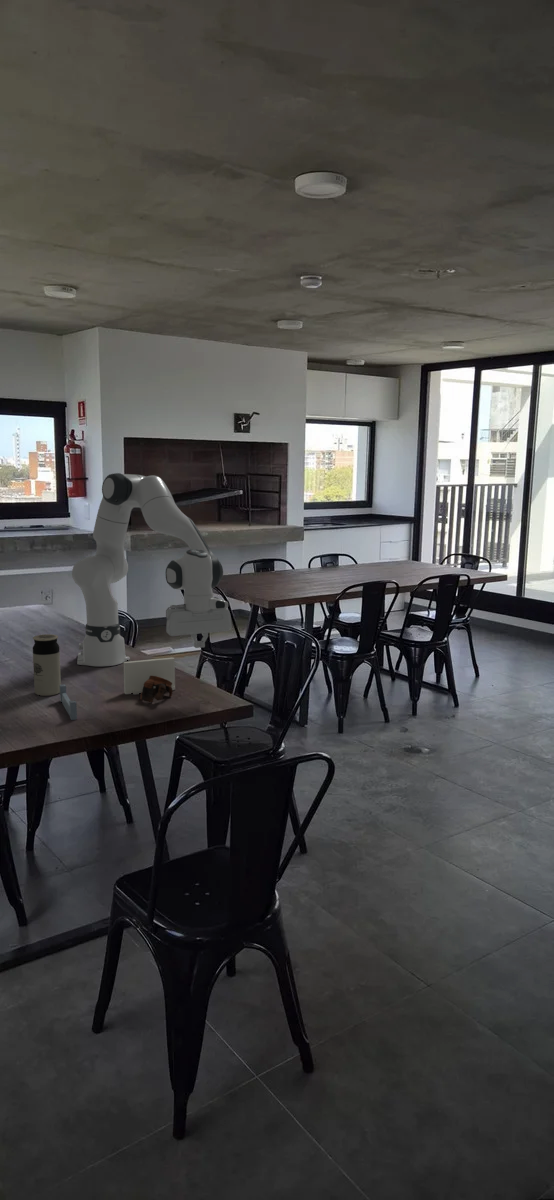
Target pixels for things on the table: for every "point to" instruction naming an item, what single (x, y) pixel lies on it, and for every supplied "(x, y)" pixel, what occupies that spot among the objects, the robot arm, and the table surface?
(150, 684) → the pottery mug
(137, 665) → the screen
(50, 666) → the travel mug
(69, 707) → the handle
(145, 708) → the table surface
